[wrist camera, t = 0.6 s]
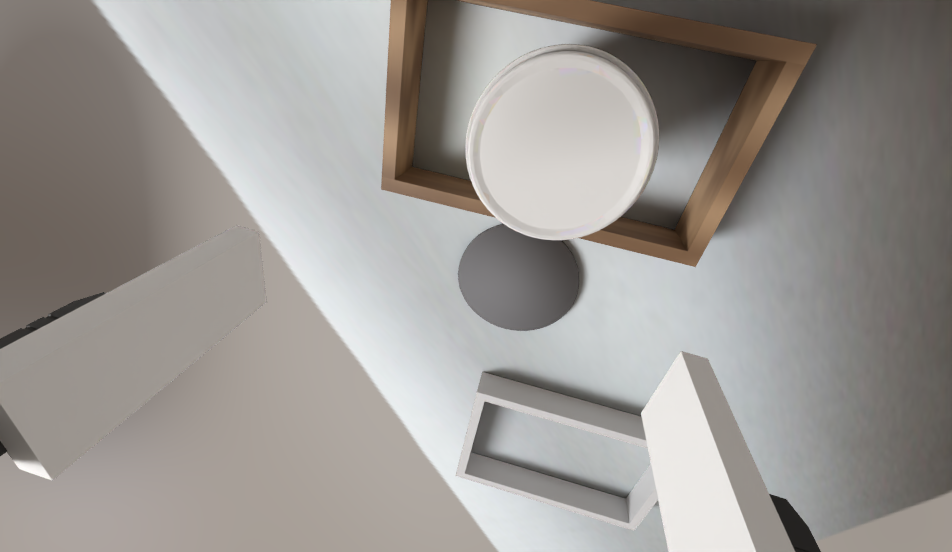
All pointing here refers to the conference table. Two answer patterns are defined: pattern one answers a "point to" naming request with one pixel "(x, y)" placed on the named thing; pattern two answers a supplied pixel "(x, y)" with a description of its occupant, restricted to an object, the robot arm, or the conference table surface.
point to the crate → (573, 5)
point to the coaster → (518, 279)
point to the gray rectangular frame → (550, 487)
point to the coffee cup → (562, 142)
